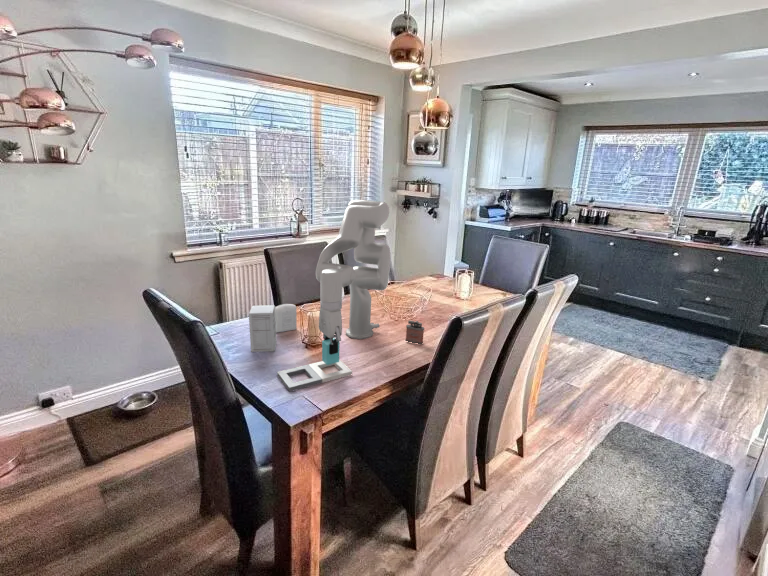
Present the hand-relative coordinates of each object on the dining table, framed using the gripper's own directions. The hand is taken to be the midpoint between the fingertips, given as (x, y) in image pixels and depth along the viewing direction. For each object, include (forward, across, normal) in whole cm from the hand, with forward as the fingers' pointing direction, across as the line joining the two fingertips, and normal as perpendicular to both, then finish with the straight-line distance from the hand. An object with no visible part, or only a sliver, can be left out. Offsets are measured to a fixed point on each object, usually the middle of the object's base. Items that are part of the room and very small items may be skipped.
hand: (330, 350), depth 145 cm
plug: (+4, 0, 0) cm, 4 cm away
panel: (+8, 0, -6) cm, 10 cm away
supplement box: (+9, -31, -15) cm, 35 cm away
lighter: (+9, -6, +44) cm, 45 cm away
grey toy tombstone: (+9, -44, -1) cm, 45 cm away
